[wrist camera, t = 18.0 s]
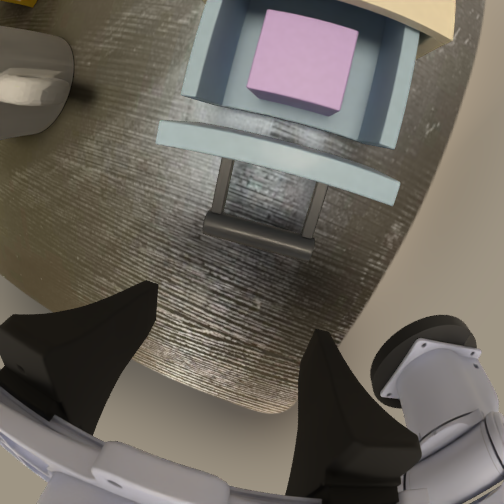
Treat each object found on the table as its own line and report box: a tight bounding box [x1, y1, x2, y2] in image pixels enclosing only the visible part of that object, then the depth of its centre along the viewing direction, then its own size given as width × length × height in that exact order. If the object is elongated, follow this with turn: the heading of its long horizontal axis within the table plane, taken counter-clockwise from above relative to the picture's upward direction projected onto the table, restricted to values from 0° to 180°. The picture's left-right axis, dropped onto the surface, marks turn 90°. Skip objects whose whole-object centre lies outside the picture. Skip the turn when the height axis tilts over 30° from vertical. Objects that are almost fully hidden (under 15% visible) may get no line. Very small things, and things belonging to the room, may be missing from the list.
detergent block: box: [246, 9, 359, 116], centre depth 13 cm, size 4×4×4 cm
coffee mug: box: [0, 26, 74, 140], centre depth 14 cm, size 13×10×10 cm
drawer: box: [156, 0, 420, 262], centre depth 14 cm, size 18×11×6 cm, turn 167°
